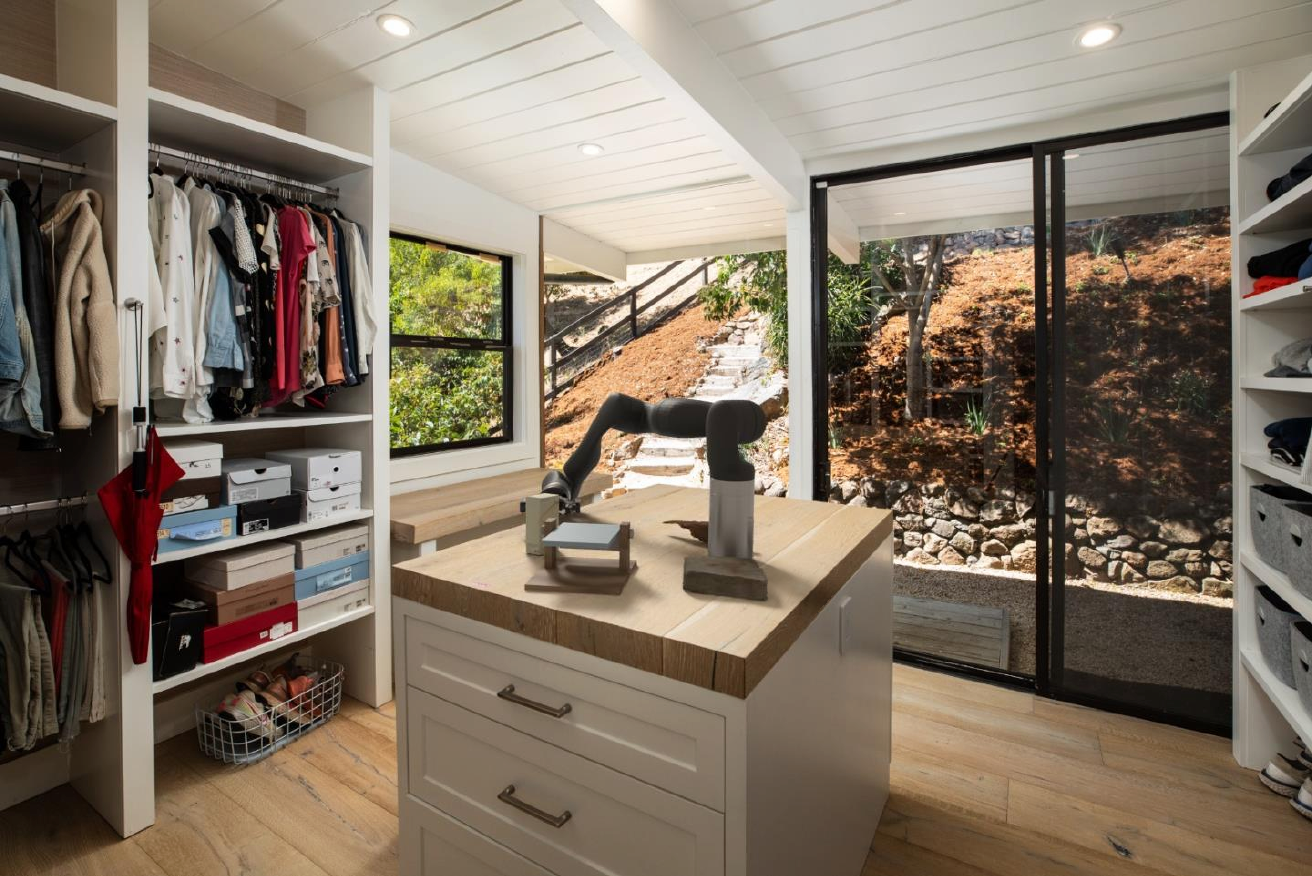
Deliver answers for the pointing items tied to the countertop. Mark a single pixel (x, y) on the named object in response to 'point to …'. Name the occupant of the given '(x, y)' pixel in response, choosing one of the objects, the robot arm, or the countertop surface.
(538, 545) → the skincare box
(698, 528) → the bird sculpture
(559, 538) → the trapdoor flap
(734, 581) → the grey brown flat block
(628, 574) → the frame
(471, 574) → the countertop surface
